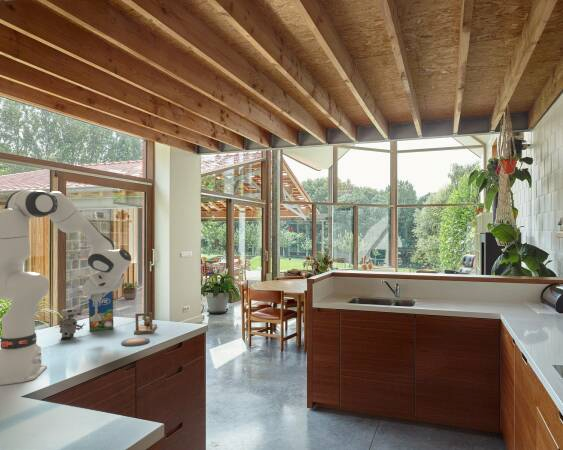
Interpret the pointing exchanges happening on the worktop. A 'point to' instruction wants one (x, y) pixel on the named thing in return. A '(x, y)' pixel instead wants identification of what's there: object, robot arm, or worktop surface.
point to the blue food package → (102, 313)
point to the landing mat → (135, 341)
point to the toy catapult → (145, 324)
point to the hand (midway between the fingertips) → (95, 297)
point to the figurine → (69, 322)
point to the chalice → (96, 299)
